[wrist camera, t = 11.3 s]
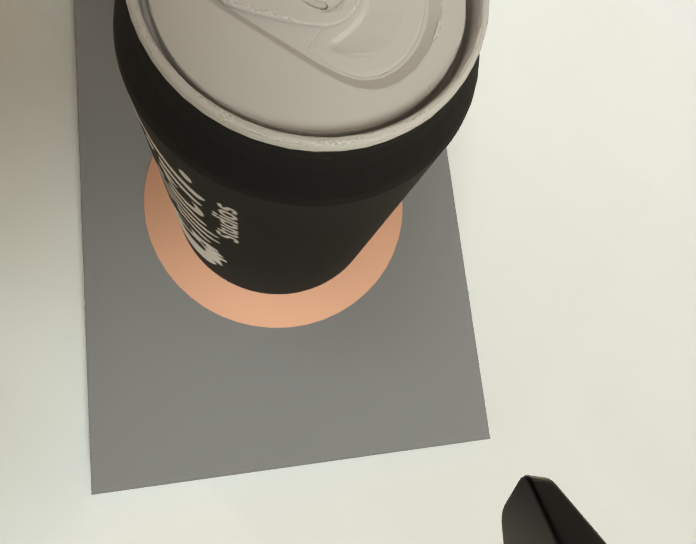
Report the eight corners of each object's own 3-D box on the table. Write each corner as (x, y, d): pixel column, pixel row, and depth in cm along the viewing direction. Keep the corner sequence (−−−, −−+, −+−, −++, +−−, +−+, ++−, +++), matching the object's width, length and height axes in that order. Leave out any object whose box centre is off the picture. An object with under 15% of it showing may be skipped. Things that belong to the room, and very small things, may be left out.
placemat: (99, 489, 19) (90, 495, 18) (80, -11, 22) (72, -31, 21) (479, 436, 21) (491, 438, 20) (413, -9, 25) (420, -27, 24)
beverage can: (348, 317, 20) (481, 222, 9) (156, 272, 20) (25, 102, 8) (384, 145, 22) (541, -133, 10) (207, 96, 21) (160, -262, 9)
